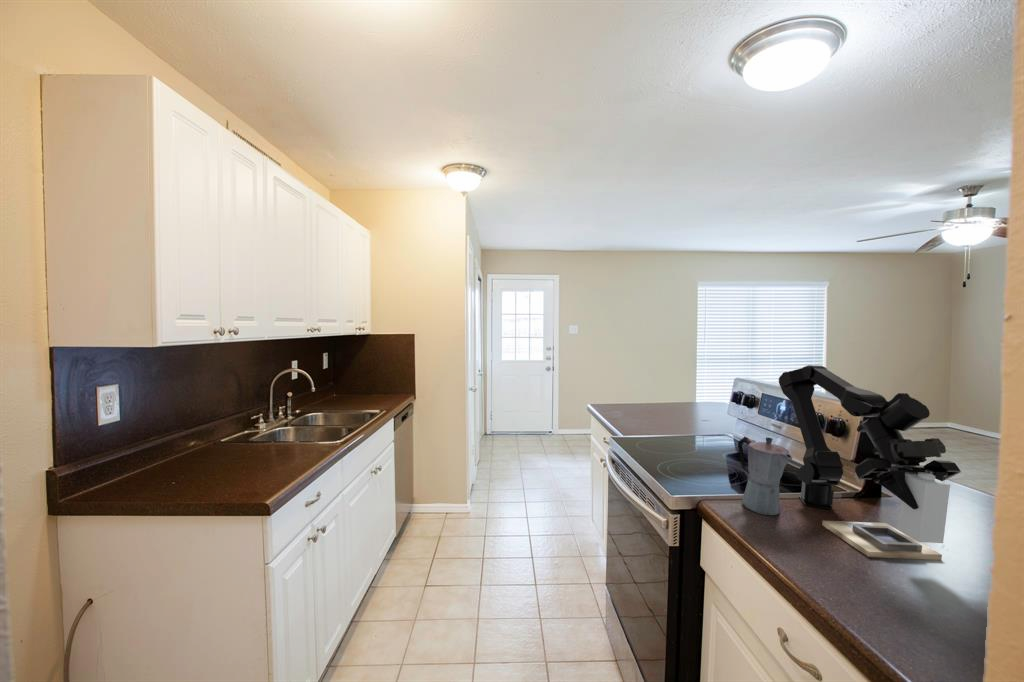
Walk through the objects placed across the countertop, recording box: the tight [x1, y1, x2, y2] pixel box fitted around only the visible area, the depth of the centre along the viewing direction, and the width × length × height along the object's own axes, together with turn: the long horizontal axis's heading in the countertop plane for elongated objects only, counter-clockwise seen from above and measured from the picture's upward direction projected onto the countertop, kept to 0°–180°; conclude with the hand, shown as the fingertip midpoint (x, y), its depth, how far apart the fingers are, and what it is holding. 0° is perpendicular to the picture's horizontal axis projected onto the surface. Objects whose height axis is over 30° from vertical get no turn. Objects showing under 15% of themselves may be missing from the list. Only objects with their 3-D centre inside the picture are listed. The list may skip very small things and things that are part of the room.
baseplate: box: [821, 520, 943, 561], centre depth 99 cm, size 14×16×3 cm
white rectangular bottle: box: [896, 472, 951, 544], centre depth 89 cm, size 5×5×14 cm
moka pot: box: [737, 436, 793, 516], centre depth 115 cm, size 10×15×20 cm, turn 27°
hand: (929, 509), depth 87 cm, fingers closed on white rectangular bottle, 5 cm apart
